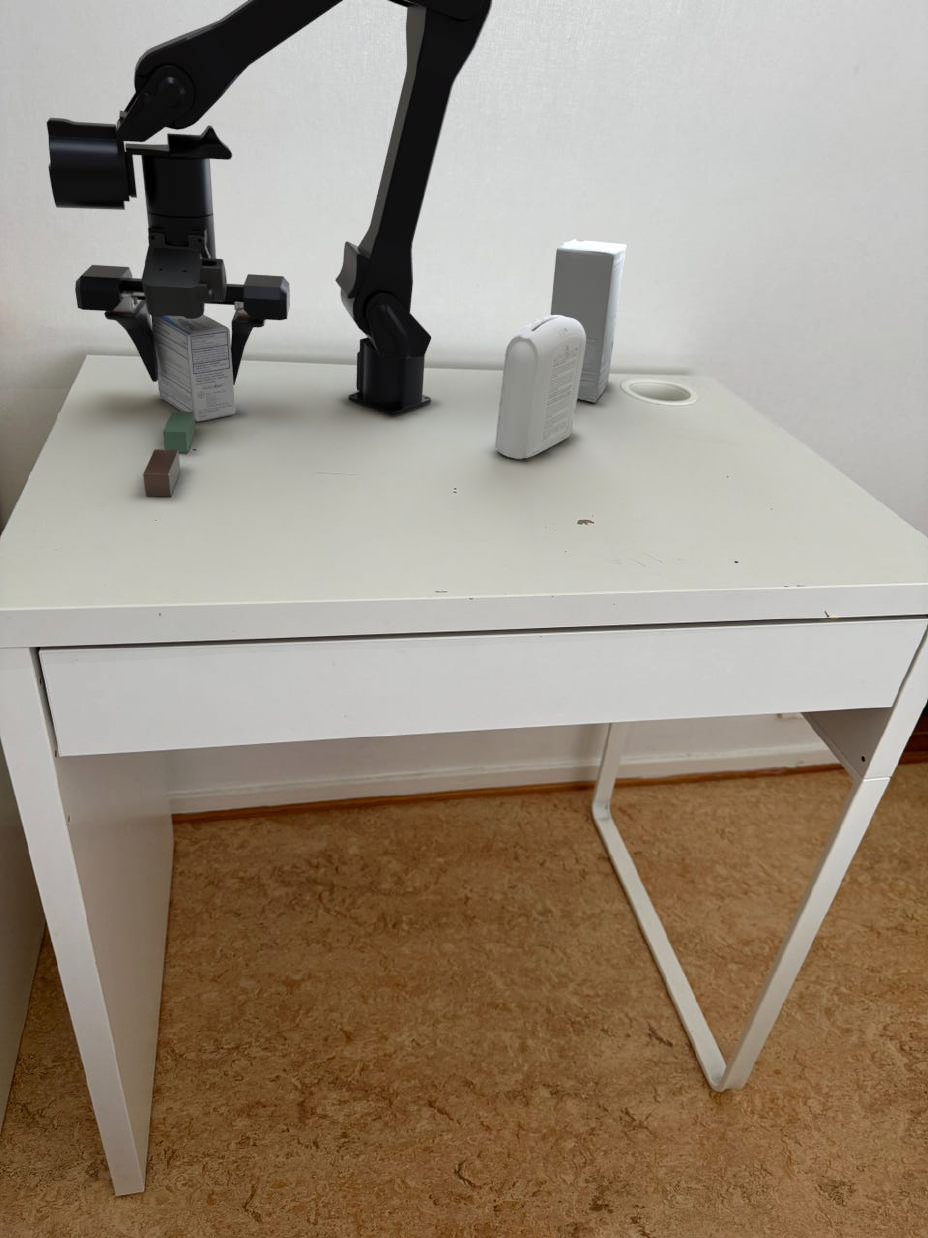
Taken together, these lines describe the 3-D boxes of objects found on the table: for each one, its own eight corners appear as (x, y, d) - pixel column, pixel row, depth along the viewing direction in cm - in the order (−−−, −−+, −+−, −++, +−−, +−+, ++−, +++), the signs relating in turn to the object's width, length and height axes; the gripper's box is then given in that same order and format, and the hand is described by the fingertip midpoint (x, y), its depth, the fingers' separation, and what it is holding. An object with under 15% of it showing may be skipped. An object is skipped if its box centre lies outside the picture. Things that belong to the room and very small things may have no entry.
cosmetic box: (596, 404, 102) (621, 255, 93) (534, 393, 103) (554, 245, 95) (610, 383, 109) (634, 242, 100) (552, 372, 110) (571, 233, 102)
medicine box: (236, 415, 90) (232, 327, 86) (195, 423, 88) (188, 333, 83) (198, 391, 95) (192, 306, 90) (158, 398, 92) (149, 311, 88)
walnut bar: (170, 497, 74) (168, 474, 73) (145, 496, 74) (142, 473, 73) (180, 471, 79) (178, 449, 77) (156, 470, 78) (154, 448, 77)
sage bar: (187, 453, 82) (185, 431, 81) (164, 452, 82) (162, 430, 81) (195, 431, 86) (194, 411, 85) (173, 430, 86) (171, 410, 85)
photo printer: (541, 424, 95) (557, 303, 89) (577, 436, 93) (596, 313, 87) (487, 452, 88) (501, 322, 81) (525, 465, 86) (542, 333, 79)
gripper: (45, 221, 74) (74, 407, 82) (281, 237, 76) (285, 416, 84) (79, 198, 83) (102, 367, 91) (288, 212, 85) (291, 376, 94)
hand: (194, 382), depth 90 cm, fingers closed on medicine box, 7 cm apart
